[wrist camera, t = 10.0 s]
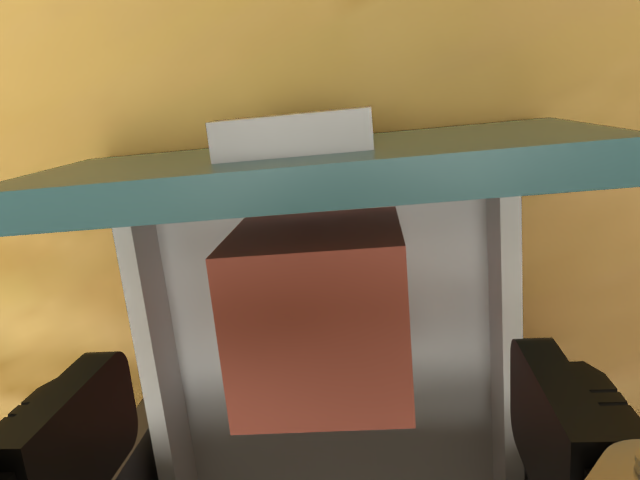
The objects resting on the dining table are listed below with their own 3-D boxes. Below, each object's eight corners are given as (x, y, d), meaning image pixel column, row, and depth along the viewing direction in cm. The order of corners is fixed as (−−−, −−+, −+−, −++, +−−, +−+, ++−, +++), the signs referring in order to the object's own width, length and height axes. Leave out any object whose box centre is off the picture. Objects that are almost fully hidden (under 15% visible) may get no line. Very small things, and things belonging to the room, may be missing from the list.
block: (395, 206, 19) (405, 245, 14) (403, 347, 20) (415, 428, 15) (244, 217, 19) (205, 259, 15) (261, 354, 21) (230, 435, 16)
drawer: (550, 85, 18) (668, 82, 11) (549, 482, 22) (638, 673, 15) (84, 129, 20) (-74, 151, 13) (153, 495, 23) (60, 674, 16)
